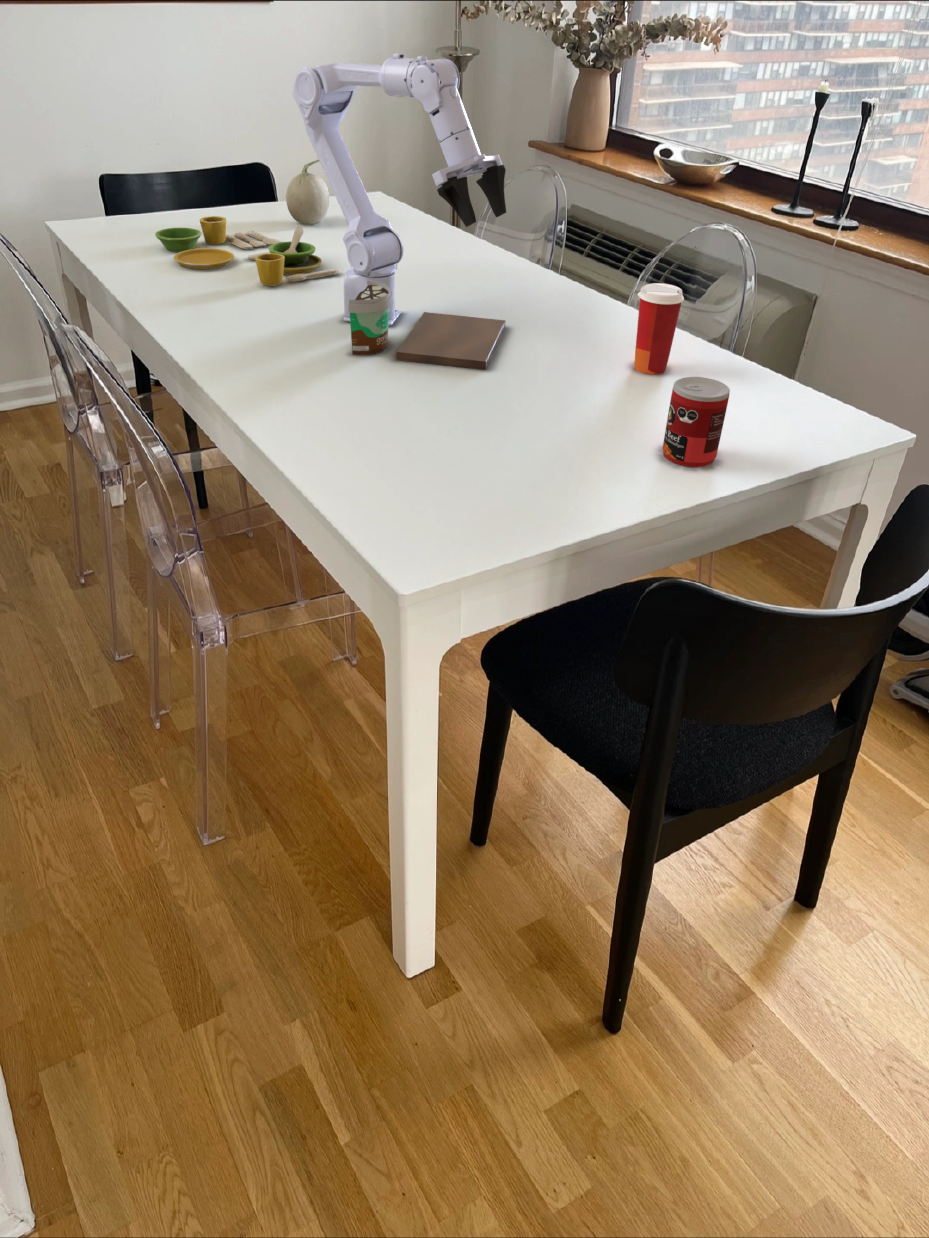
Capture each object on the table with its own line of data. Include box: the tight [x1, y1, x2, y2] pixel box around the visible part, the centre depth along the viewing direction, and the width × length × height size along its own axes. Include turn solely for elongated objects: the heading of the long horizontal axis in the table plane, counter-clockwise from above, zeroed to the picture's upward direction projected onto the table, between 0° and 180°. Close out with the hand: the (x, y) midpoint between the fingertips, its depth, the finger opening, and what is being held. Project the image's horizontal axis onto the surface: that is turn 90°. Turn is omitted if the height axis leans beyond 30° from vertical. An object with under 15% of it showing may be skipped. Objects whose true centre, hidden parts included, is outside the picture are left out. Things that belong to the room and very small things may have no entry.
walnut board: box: [395, 311, 507, 371], centre depth 180 cm, size 16×22×2 cm
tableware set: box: [154, 215, 339, 287], centre depth 214 cm, size 41×28×6 cm
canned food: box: [662, 376, 731, 468], centre depth 143 cm, size 8×8×11 cm
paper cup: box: [633, 282, 685, 375], centre depth 170 cm, size 8×8×14 cm
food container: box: [349, 280, 394, 356], centre depth 174 cm, size 12×6×10 cm, turn 168°
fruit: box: [285, 159, 330, 225], centre depth 239 cm, size 10×12×15 cm
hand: (486, 219), depth 164 cm, fingers open, 7 cm apart
